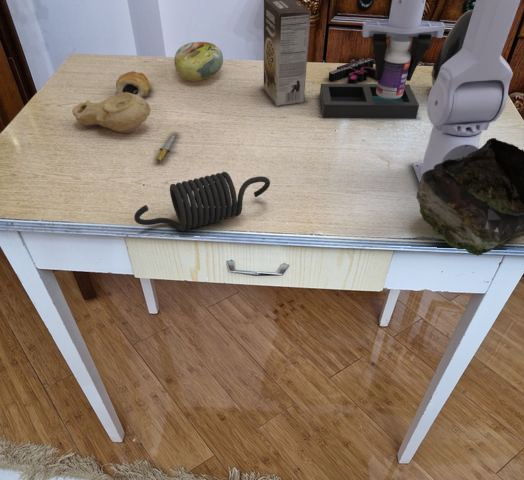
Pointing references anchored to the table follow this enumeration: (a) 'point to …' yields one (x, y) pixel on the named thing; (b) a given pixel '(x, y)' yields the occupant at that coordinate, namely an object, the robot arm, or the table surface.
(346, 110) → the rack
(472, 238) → the rock
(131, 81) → the pastry
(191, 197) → the coil
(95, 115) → the oil lamp
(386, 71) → the pill bottle
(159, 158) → the dagger
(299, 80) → the coffee box
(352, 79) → the logo
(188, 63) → the cell model
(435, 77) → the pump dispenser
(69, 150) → the table surface
